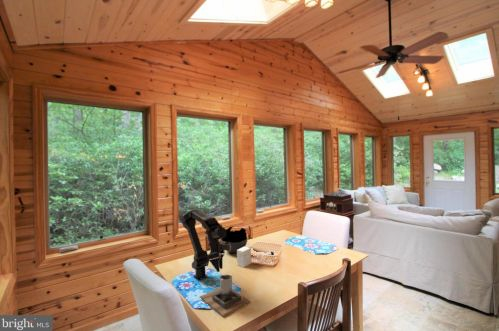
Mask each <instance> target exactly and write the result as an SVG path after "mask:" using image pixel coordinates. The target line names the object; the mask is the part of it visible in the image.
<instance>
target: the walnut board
mask: <svg viewBox="0 0 499 331" xmlns="http://www.w3.org/2000/svg"><path fill="white" fill-rule="evenodd" d="M232 290H233V299H231V300H229V301H227V302H225V303H224V302H223V301H222V300H220V287H218V288H216V289H214V290H211V291H209V292H207V293H204V294H201V295H200V296H199V299H200V298H201V299H202V300H203V301H204V302H203V301H202V300H201V299H200V300H201V301H202V302H203V303H205V304H206V305H207V304H208V305H209V306H208V305H207V306H208V307H210V308H211V309H212V310H213V311H214V312H216V313H217V315H220V316H221V317H222V318H224V317H226V316H228V315H230V314H232V313H233V312H235V311H237V310H240V309H241V308H242V307H245V306H246V305H247V306H248V304H250V302H251V301H250V299H248V298H246V297H245V296H244V295H242V294H240V293H239V292H237V291H236V290H234V289H233V288H232Z"/></svg>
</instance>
